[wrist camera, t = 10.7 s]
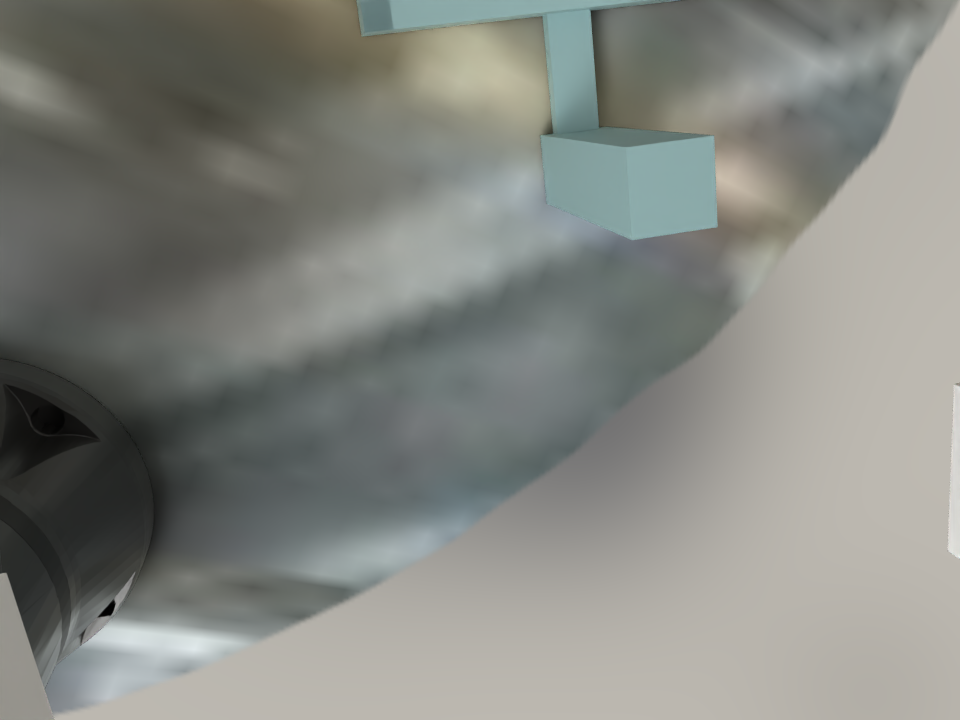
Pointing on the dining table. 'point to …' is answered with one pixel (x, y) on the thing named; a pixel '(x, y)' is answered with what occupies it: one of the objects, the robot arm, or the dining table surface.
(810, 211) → the dining table surface
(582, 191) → the sled
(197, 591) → the dining table surface
